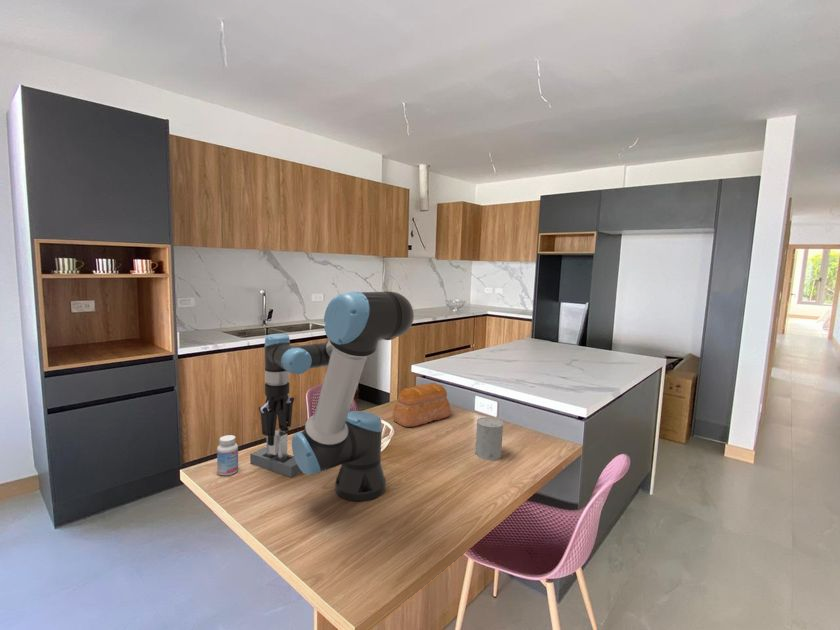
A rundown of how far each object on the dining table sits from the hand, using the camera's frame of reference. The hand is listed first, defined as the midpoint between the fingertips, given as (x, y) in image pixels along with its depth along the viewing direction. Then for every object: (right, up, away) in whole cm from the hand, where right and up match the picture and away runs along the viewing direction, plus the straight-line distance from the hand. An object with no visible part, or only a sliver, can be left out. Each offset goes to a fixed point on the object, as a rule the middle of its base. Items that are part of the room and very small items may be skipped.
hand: (277, 451), depth 139 cm
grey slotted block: (0, -5, +1) cm, 5 cm away
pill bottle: (-14, -5, -4) cm, 16 cm away
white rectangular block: (0, -2, 0) cm, 3 cm away
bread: (+48, -2, +49) cm, 69 cm away
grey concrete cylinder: (+72, -6, +16) cm, 74 cm away
